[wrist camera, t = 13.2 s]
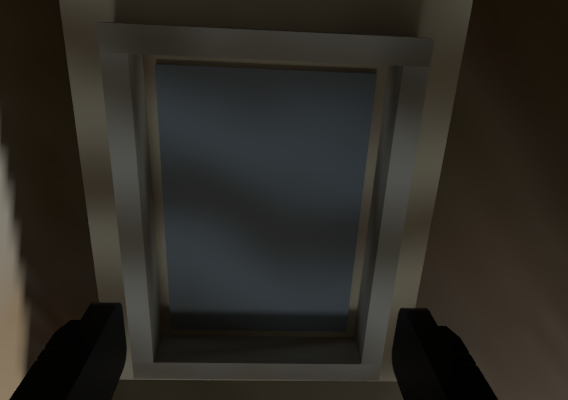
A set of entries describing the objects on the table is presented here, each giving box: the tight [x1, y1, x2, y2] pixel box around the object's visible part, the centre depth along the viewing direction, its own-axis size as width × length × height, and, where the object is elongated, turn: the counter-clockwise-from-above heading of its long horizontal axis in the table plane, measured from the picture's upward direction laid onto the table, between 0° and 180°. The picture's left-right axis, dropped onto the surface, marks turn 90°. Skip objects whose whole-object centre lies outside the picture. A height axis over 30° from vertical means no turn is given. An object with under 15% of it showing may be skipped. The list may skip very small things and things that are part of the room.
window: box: [59, 0, 473, 381], centre depth 20 cm, size 20×16×3 cm
